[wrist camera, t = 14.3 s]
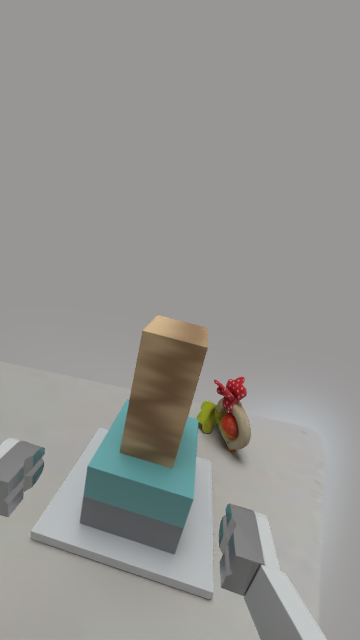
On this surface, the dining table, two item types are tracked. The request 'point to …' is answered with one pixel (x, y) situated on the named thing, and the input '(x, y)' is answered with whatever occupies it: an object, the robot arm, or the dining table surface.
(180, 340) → the oak brick
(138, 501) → the brick tower
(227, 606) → the dining table surface
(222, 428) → the bird rattle
